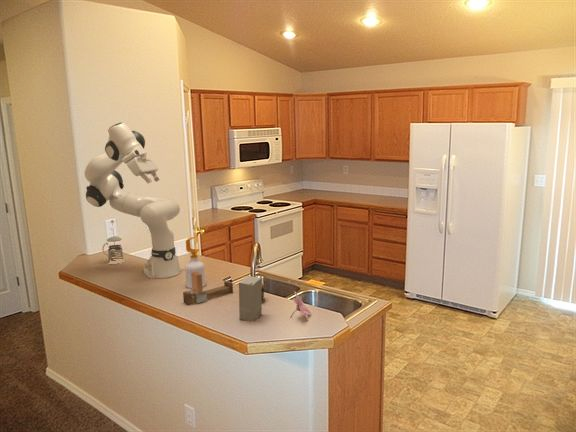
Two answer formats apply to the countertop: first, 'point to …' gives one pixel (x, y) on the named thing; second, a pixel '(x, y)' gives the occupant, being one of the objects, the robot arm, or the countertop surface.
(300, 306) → the lily
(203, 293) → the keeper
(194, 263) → the soap bottle
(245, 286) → the skincare box
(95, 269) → the countertop surface
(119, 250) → the french press
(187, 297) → the rail
